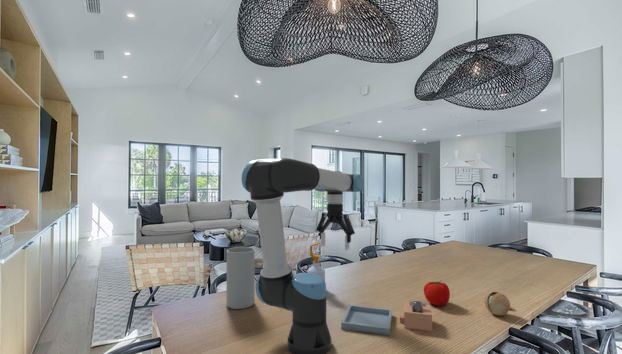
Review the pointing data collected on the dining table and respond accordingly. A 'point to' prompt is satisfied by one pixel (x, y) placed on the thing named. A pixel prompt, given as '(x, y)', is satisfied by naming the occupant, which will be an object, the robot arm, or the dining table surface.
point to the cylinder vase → (240, 277)
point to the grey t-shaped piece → (417, 305)
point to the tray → (367, 319)
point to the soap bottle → (316, 265)
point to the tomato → (437, 293)
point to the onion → (498, 304)
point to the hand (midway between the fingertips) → (334, 247)
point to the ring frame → (417, 318)
